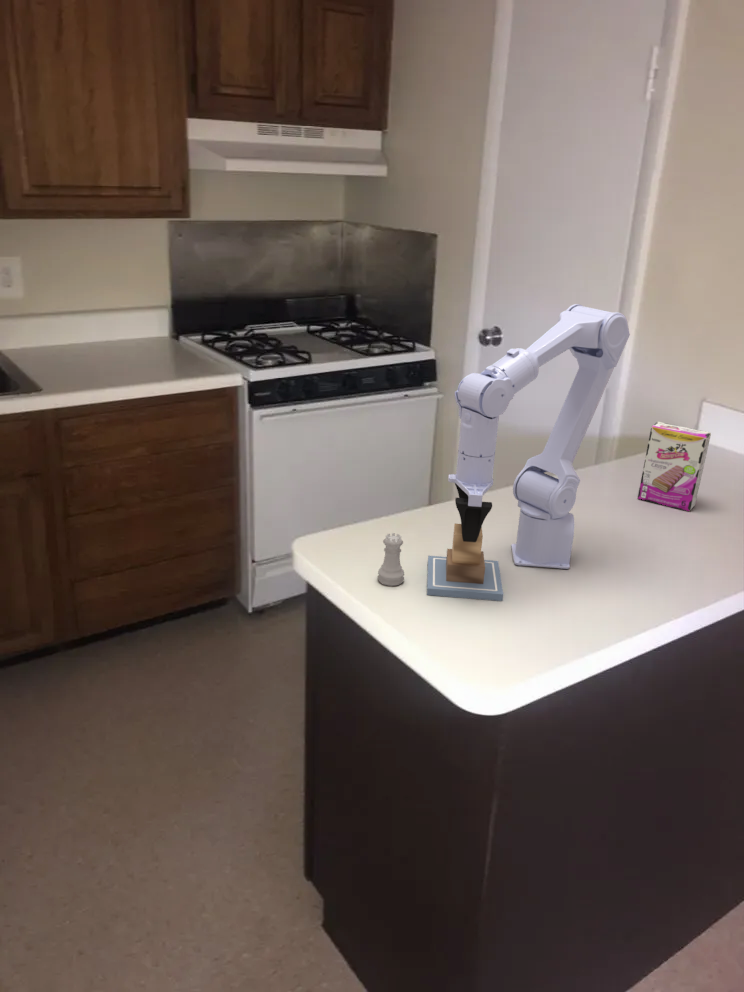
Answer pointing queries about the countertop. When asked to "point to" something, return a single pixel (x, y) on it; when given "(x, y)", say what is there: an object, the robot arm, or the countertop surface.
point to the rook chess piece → (391, 562)
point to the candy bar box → (673, 465)
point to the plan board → (467, 585)
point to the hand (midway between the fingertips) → (468, 531)
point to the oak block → (465, 548)
